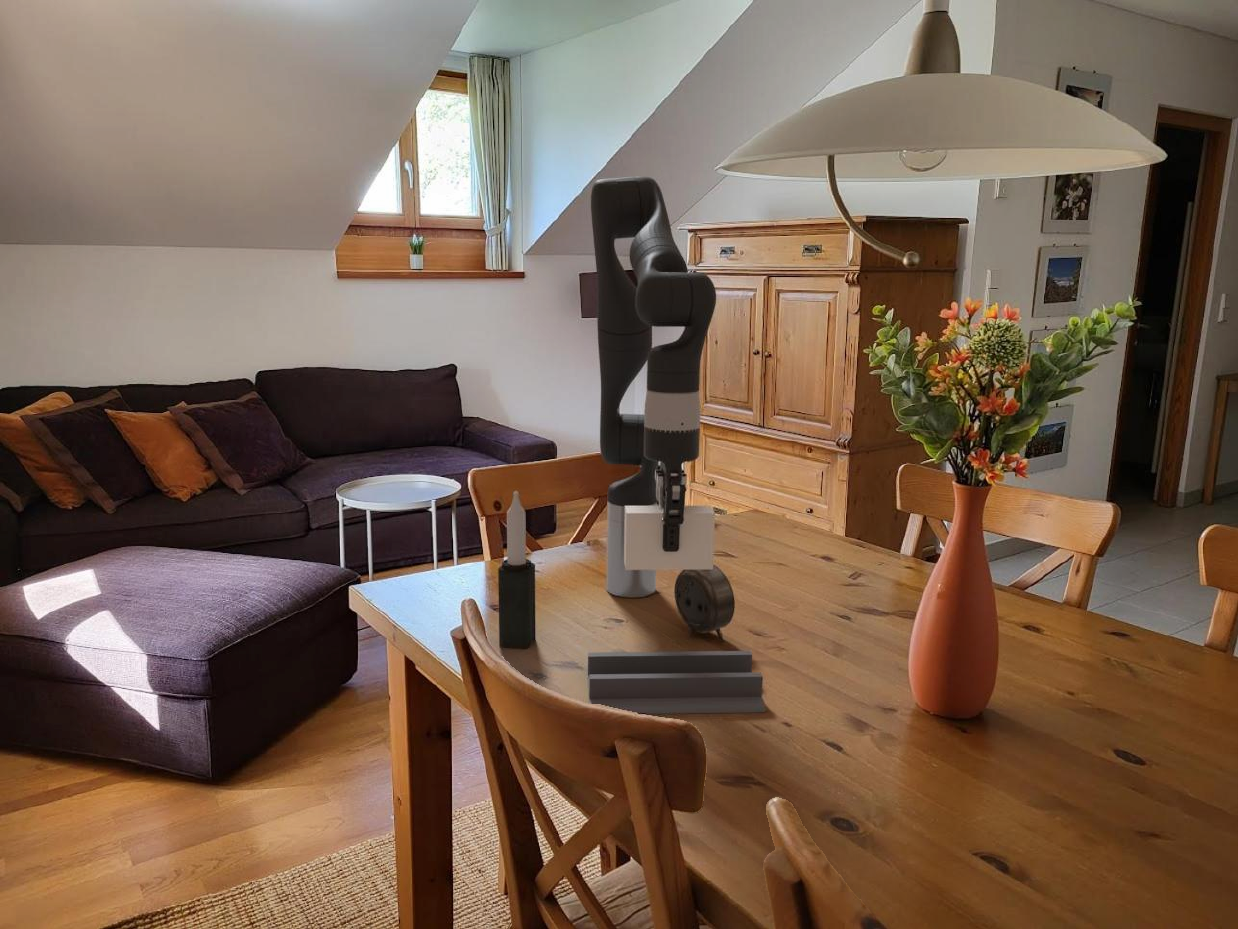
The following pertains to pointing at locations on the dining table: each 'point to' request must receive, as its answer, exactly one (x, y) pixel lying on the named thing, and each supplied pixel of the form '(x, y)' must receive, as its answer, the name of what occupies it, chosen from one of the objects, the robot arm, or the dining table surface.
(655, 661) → the door track
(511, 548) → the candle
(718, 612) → the alarm clock
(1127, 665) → the dining table surface
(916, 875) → the dining table surface
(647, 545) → the white rectangular block
